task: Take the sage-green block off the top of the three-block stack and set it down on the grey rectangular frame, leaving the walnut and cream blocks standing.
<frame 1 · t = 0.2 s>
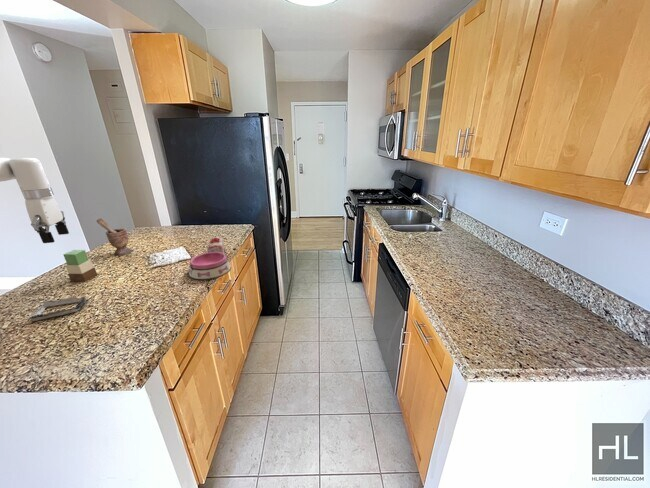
hand: (56, 238, 100), 23 cm above the countertop, tool pointing down, fingers open, 9 cm apart
green block: (78, 262, 114), point 8 cm above the countertop, touching cream block
mortar and pestle: (119, 254, 142), on the countertop
walnut block: (84, 278, 117), on the countertop, touching cream block
food item: (217, 255, 140), on the countertop
white flat packet: (167, 258, 137), on the countertop
cream block: (81, 270, 115), point 4 cm above the countertop, touching green block, walnut block
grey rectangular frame: (61, 311, 95), on the countertop
dog bowl: (210, 271, 123), on the countertop
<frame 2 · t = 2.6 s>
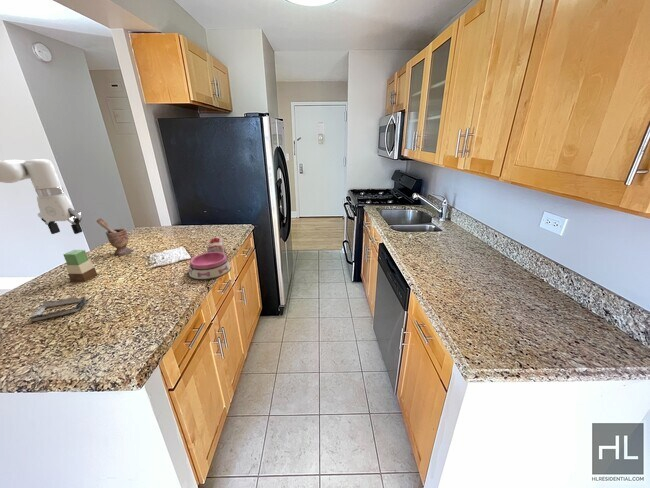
hand: (67, 232, 109), 22 cm above the countertop, tool pointing down, fingers open, 9 cm apart
nothing on the countertop moved.
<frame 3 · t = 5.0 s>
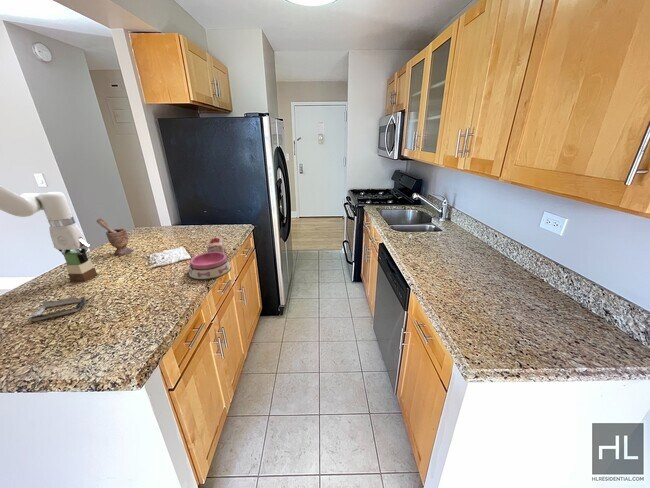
hand: (78, 261, 114), 8 cm above the countertop, tool pointing down, fingers closed on green block, 5 cm apart
green block: (78, 262, 114), point 8 cm above the countertop, touching cream block, gripper
everything else where it was.
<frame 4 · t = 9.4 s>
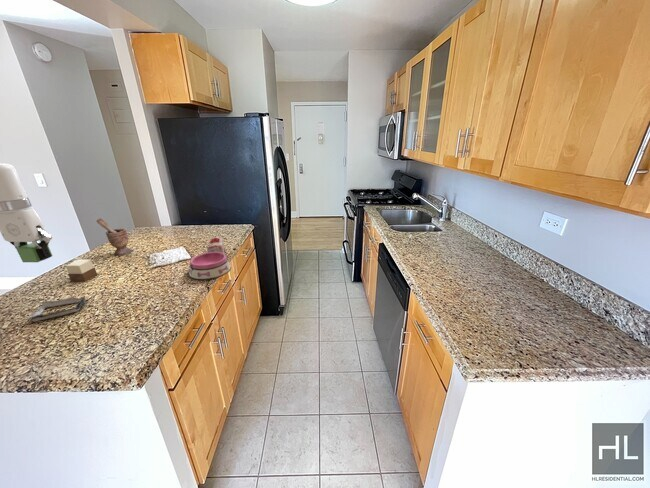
hand: (37, 258, 87), 21 cm above the countertop, tool pointing down, fingers closed on green block, 5 cm apart
green block: (38, 259, 87), point 21 cm above the countertop, touching gripper
cream block: (81, 270, 115), point 4 cm above the countertop, touching walnut block
everything else where it was.
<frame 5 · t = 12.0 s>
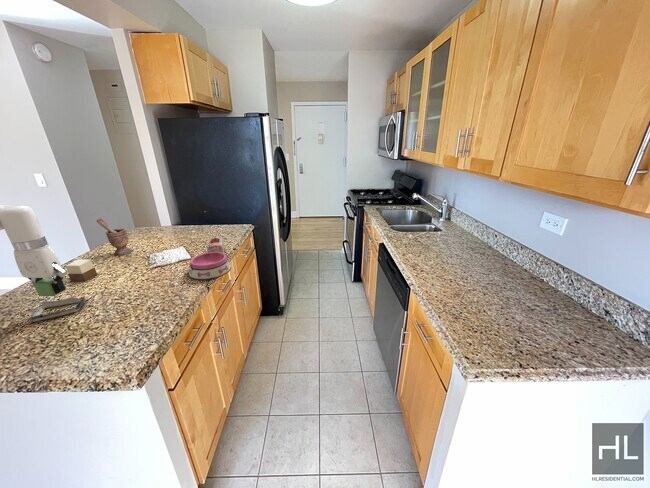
hand: (52, 291, 91), 8 cm above the countertop, tool pointing down, fingers closed on green block, 5 cm apart
green block: (53, 292, 92), point 8 cm above the countertop, touching gripper
everything else where it was.
when the fingers open (3 cm above the countertop, at t = 13.8 s): green block stays where it is, resting on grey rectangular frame.
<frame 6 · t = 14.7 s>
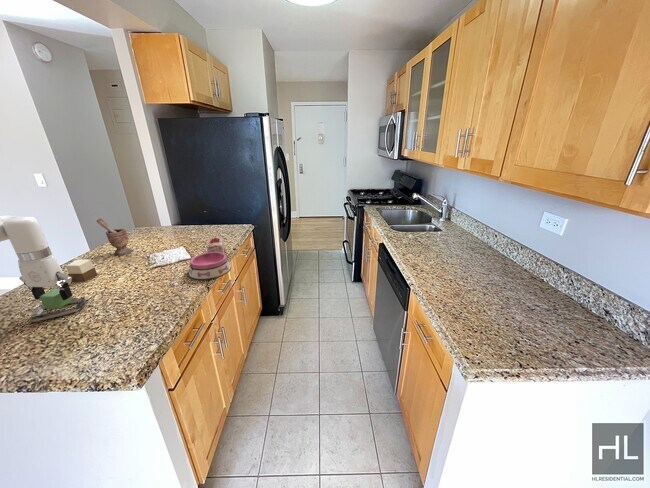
hand: (54, 297, 92), 6 cm above the countertop, tool pointing down, fingers open, 9 cm apart
green block: (59, 304, 93), point 3 cm above the countertop, touching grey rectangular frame
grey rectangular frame: (61, 312, 94), on the countertop, touching green block
everything else where it was.
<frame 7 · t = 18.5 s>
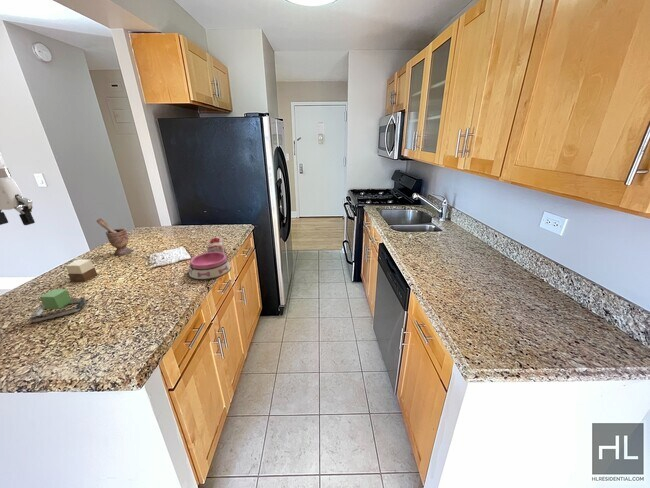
hand: (16, 224, 92), 30 cm above the countertop, tool pointing down, fingers open, 9 cm apart
nothing on the countertop moved.
at the end: green block inside the target area on the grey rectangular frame (0.3 cm from its centre), point 3.1 cm above the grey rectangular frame's base; green block tilted 0°; cream block moved 0.0 cm from its start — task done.
